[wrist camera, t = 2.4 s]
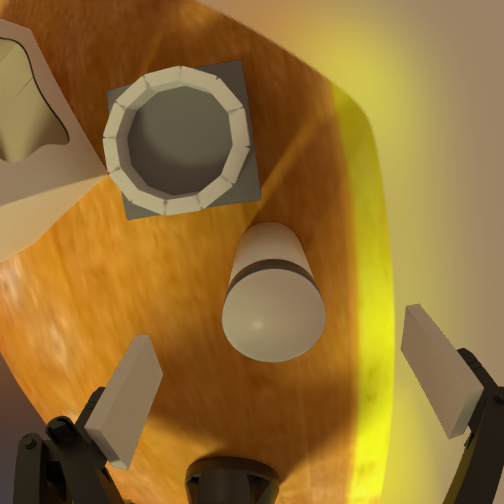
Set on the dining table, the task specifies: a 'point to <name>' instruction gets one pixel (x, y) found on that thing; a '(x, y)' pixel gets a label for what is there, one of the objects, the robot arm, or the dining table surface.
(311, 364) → the dining table surface
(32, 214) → the gable box
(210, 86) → the grey socket block
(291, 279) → the beige rounded cylinder
